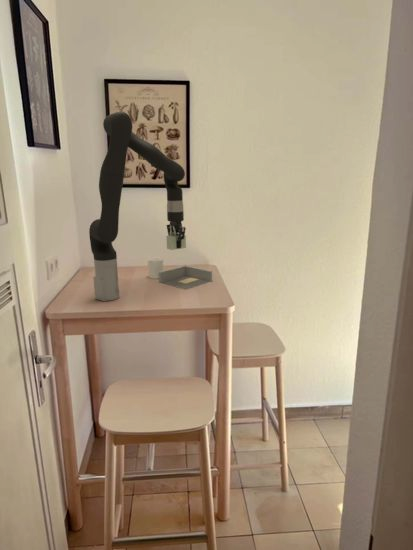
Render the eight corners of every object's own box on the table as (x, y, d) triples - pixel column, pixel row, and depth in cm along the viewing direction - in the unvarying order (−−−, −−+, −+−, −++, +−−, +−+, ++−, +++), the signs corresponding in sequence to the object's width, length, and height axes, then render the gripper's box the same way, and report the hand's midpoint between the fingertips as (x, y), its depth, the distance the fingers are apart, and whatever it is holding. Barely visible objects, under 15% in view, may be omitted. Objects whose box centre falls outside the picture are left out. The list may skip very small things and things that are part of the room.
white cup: (145, 279, 189) (144, 260, 187) (152, 275, 196) (151, 257, 194) (159, 281, 187) (159, 261, 184) (166, 277, 194) (165, 258, 191)
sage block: (185, 247, 178) (185, 235, 177) (171, 249, 174) (170, 237, 172) (181, 246, 182) (181, 234, 180) (166, 248, 177) (166, 235, 176)
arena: (186, 291, 170) (185, 278, 168) (159, 284, 181) (158, 272, 180) (212, 282, 183) (212, 271, 181) (185, 276, 194) (185, 265, 193)
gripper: (190, 211, 170) (191, 248, 174) (174, 208, 181) (175, 244, 185) (176, 212, 166) (177, 250, 170) (160, 209, 177) (162, 246, 181)
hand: (176, 247), depth 178 cm, fingers closed on sage block, 4 cm apart
